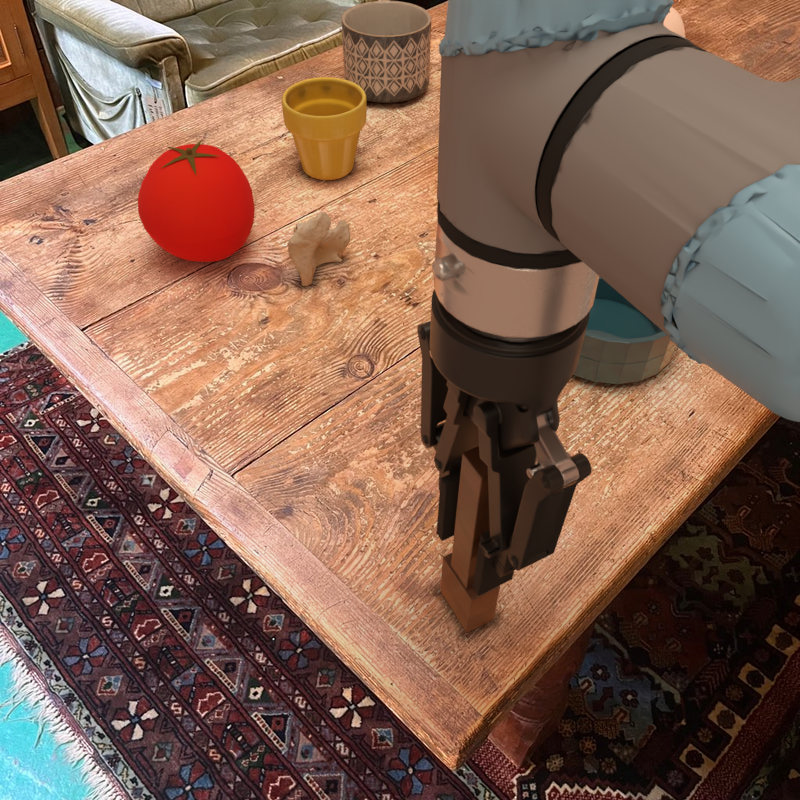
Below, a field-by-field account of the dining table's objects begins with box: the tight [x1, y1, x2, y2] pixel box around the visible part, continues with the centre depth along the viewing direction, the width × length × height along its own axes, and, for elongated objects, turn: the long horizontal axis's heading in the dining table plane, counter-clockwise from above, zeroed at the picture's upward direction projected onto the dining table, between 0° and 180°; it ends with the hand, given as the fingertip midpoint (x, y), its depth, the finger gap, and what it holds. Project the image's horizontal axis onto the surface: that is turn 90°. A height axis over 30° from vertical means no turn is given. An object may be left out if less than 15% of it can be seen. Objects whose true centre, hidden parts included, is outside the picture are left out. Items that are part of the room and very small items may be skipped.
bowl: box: [572, 276, 677, 385], centre depth 77 cm, size 14×14×6 cm
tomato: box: [137, 139, 256, 263], centre depth 84 cm, size 12×12×13 cm
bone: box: [287, 211, 351, 287], centre depth 84 cm, size 9×6×10 cm
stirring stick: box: [439, 446, 501, 634], centre depth 52 cm, size 4×2×18 cm, turn 28°
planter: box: [341, 0, 432, 104], centre depth 112 cm, size 13×13×10 cm
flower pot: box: [281, 76, 368, 181], centre depth 97 cm, size 10×10×10 cm
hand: (473, 555), depth 53 cm, fingers open, 4 cm apart
